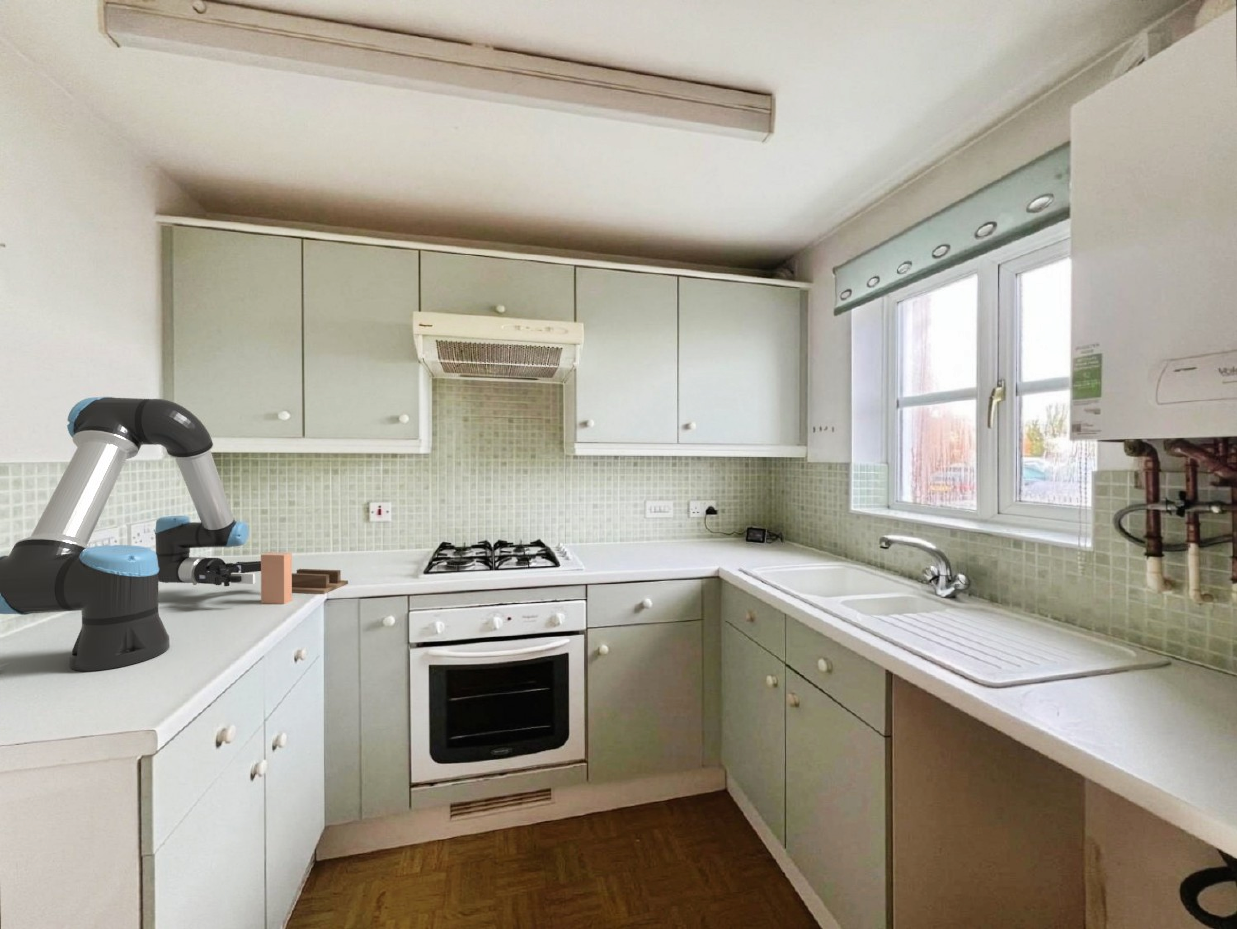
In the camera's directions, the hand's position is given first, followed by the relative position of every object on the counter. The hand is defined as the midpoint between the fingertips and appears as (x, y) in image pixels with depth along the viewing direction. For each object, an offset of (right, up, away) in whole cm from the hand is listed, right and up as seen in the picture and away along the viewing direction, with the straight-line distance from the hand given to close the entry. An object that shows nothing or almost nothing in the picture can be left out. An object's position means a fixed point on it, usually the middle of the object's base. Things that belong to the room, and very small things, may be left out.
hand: (272, 572), depth 146 cm
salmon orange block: (+2, -8, -1) cm, 9 cm away
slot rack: (+3, -8, +14) cm, 17 cm away
